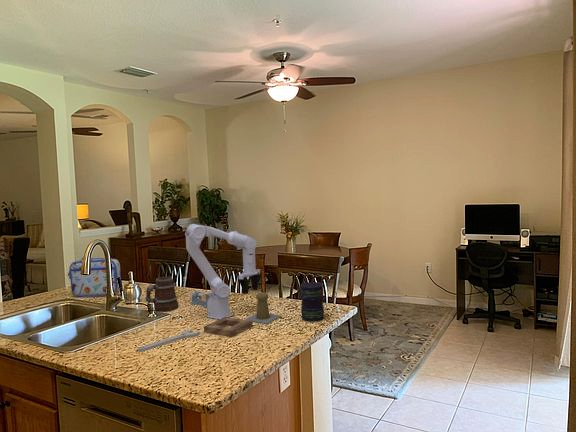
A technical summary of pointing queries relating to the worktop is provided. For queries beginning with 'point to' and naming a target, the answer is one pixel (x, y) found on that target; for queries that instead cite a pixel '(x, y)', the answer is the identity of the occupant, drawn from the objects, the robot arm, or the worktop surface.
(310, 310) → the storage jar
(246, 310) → the worktop surface
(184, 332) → the adjustable wrench
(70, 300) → the worktop surface
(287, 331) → the worktop surface
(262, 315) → the olive brown rounded piece
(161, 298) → the mug
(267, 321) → the rubber mat
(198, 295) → the vise
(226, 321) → the walnut holder
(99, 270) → the lunch box
